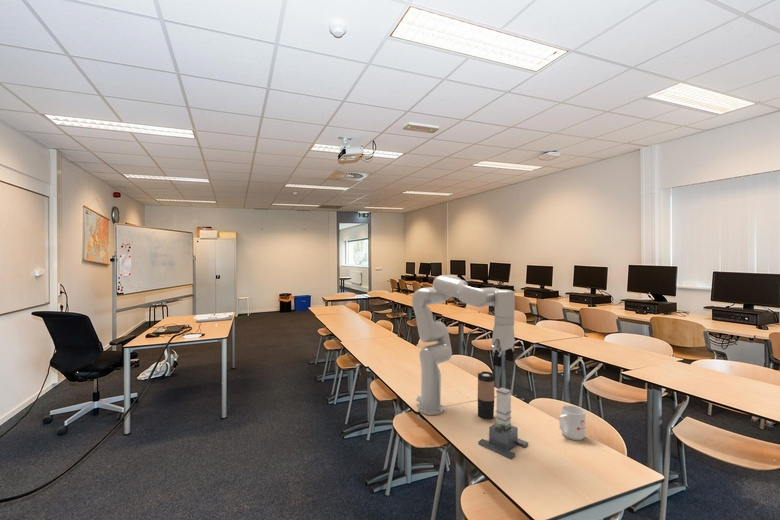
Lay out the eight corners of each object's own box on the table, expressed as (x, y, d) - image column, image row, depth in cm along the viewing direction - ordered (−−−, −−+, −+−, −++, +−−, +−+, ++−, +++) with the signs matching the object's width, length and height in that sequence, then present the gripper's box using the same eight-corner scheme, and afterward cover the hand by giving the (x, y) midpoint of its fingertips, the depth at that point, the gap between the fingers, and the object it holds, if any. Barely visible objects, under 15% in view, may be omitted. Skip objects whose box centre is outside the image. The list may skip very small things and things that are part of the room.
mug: (571, 428, 149) (571, 403, 149) (590, 438, 141) (590, 412, 141) (551, 434, 144) (551, 408, 144) (569, 444, 136) (570, 417, 136)
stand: (478, 444, 136) (478, 424, 136) (496, 432, 146) (496, 413, 146) (511, 459, 126) (511, 437, 126) (528, 445, 136) (528, 425, 136)
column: (495, 429, 136) (496, 390, 136) (501, 426, 139) (501, 387, 139) (505, 433, 133) (506, 393, 133) (510, 430, 136) (511, 390, 136)
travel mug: (495, 420, 156) (495, 377, 156) (477, 419, 158) (478, 376, 158) (493, 413, 164) (493, 372, 164) (477, 411, 165) (477, 370, 165)
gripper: (506, 316, 144) (505, 357, 145) (484, 321, 133) (483, 365, 133) (523, 319, 139) (522, 361, 139) (502, 324, 127) (501, 370, 127)
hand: (503, 363), depth 136 cm, fingers open, 9 cm apart
